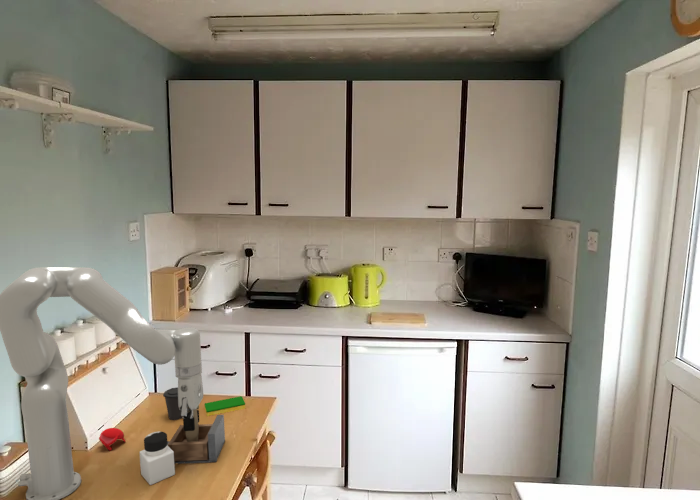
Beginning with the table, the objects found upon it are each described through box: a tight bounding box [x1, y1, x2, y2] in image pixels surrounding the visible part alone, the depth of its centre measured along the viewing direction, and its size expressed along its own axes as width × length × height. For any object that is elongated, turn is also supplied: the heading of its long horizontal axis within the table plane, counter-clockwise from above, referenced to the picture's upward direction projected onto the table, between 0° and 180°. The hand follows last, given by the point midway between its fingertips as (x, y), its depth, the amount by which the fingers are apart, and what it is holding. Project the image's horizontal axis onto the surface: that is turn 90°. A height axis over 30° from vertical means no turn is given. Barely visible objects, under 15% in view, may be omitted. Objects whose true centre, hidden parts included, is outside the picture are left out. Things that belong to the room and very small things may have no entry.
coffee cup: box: [162, 386, 183, 421], centre depth 163 cm, size 8×8×10 cm
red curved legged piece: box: [98, 427, 126, 452], centre depth 144 cm, size 8×6×6 cm
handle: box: [186, 407, 200, 442], centre depth 139 cm, size 5×6×15 cm
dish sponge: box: [204, 395, 246, 417], centre depth 169 cm, size 7×14×2 cm, turn 114°
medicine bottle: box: [139, 430, 176, 486], centre depth 129 cm, size 7×7×12 cm
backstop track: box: [167, 414, 226, 465], centre depth 140 cm, size 21×12×9 cm, turn 92°
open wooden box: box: [168, 423, 213, 461], centre depth 140 cm, size 11×11×5 cm
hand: (191, 425), depth 139 cm, fingers closed on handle, 4 cm apart
